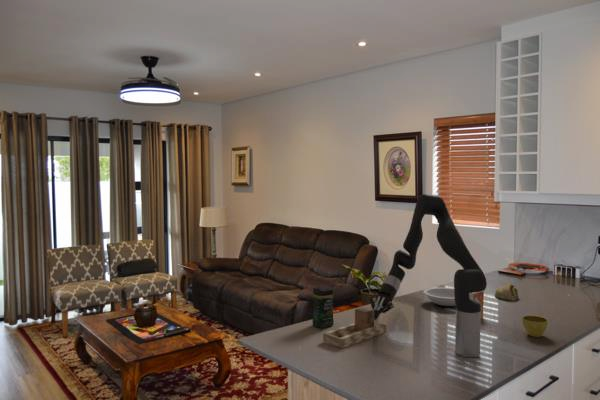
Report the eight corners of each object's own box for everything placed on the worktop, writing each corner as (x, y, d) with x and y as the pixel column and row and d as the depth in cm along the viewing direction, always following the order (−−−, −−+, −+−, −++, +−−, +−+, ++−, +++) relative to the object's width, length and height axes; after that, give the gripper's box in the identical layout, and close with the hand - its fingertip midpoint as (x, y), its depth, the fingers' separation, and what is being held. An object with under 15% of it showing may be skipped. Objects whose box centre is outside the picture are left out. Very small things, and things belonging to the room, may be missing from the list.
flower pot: (516, 332, 208) (516, 316, 208) (533, 330, 212) (534, 314, 212) (535, 340, 199) (535, 323, 199) (552, 337, 203) (553, 321, 202)
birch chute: (368, 326, 218) (368, 318, 218) (386, 331, 210) (386, 323, 210) (323, 342, 197) (323, 333, 197) (341, 348, 190) (341, 339, 190)
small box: (473, 320, 227) (473, 293, 227) (462, 316, 233) (462, 290, 232) (483, 317, 232) (484, 291, 231) (472, 314, 237) (473, 288, 236)
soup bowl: (479, 308, 248) (480, 295, 247) (442, 313, 239) (442, 300, 238) (449, 297, 270) (449, 286, 270) (414, 301, 261) (414, 289, 261)
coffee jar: (320, 329, 214) (320, 289, 213) (309, 325, 220) (309, 285, 219) (336, 325, 219) (336, 286, 218) (326, 321, 226) (326, 283, 225)
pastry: (522, 301, 261) (522, 287, 260) (498, 301, 262) (498, 286, 262) (514, 295, 275) (514, 281, 274) (491, 294, 276) (492, 281, 276)
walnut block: (363, 327, 212) (363, 306, 212) (374, 331, 208) (374, 309, 207) (354, 330, 208) (354, 309, 208) (365, 334, 204) (365, 312, 203)
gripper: (375, 280, 223) (358, 311, 215) (398, 285, 213) (381, 317, 205) (381, 289, 226) (365, 320, 219) (405, 294, 217) (388, 326, 209)
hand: (373, 318), depth 212 cm, fingers closed
